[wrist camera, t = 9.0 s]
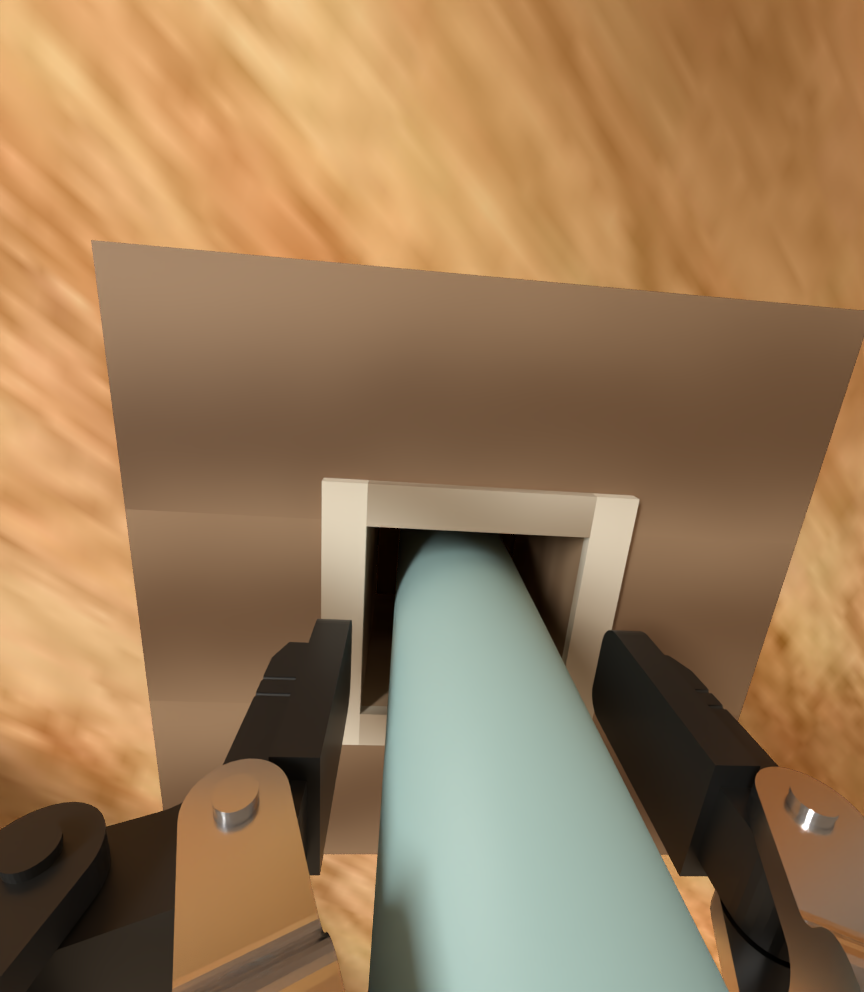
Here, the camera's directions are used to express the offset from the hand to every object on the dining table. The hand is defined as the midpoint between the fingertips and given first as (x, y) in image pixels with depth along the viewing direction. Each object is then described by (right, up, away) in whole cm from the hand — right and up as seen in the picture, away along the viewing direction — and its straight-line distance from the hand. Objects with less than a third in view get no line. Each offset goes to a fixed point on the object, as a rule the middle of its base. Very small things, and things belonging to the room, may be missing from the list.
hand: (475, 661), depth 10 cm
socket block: (0, +2, +7) cm, 8 cm away
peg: (0, +2, +7) cm, 8 cm away
